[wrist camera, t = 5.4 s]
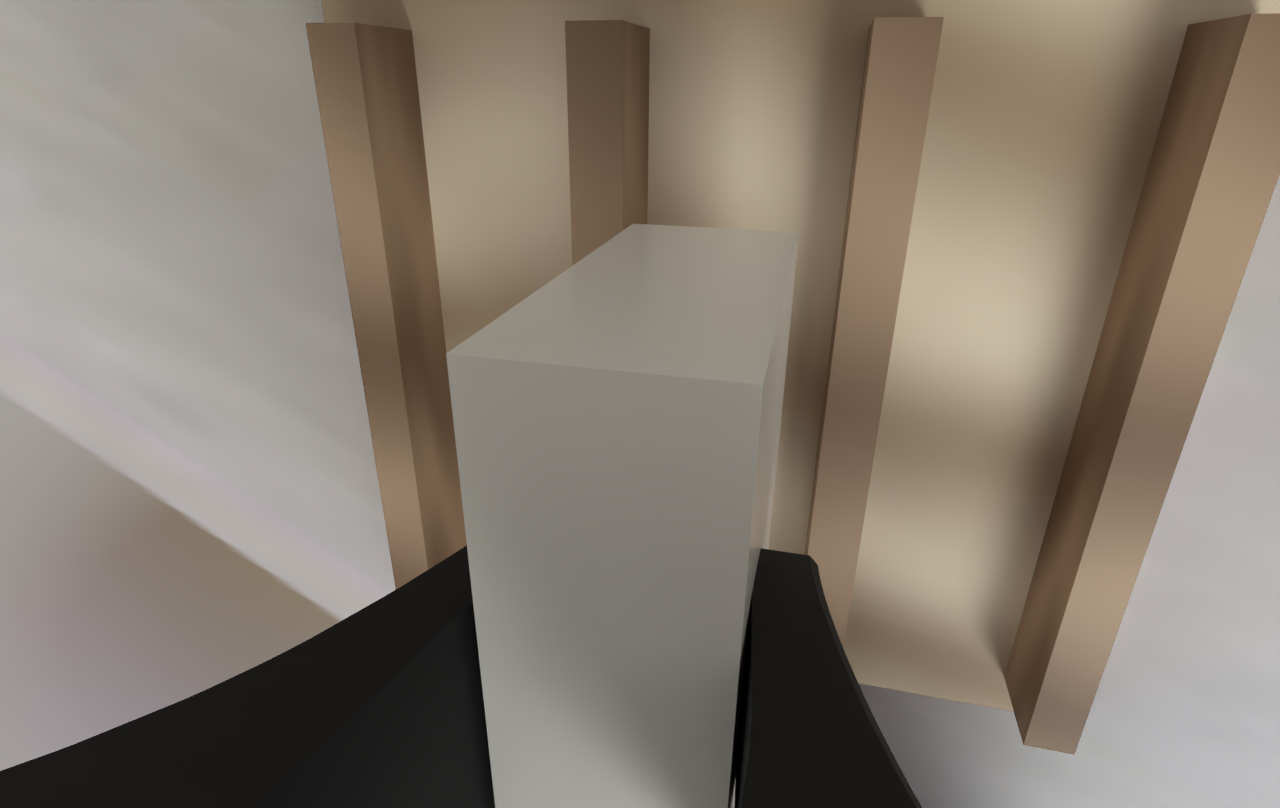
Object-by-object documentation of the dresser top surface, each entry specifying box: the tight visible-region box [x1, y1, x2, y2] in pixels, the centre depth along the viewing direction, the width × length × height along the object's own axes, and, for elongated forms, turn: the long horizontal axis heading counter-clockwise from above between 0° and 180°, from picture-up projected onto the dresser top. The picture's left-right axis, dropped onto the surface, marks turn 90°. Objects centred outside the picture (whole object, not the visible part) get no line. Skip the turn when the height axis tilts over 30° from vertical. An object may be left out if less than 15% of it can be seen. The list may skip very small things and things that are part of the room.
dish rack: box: [306, 0, 1280, 754], centre depth 15 cm, size 16×18×3 cm
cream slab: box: [446, 224, 799, 808], centre depth 10 cm, size 8×2×6 cm, turn 0°
